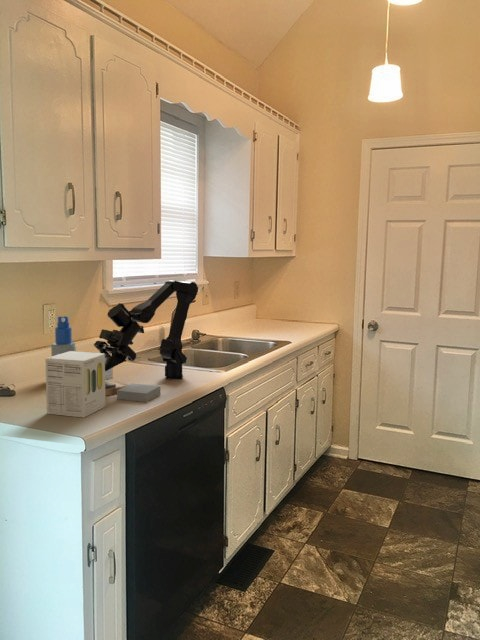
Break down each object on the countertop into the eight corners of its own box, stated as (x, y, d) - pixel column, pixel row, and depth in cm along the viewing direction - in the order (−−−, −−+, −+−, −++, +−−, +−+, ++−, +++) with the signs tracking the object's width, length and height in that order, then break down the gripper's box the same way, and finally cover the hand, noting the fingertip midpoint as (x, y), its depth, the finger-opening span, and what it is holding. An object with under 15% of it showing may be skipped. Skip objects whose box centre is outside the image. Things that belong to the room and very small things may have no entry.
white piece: (106, 377, 192) (105, 352, 191) (112, 378, 190) (112, 354, 188) (96, 378, 189) (96, 354, 188) (103, 380, 187) (102, 355, 186)
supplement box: (84, 418, 160) (82, 360, 158) (45, 414, 164) (44, 357, 161) (106, 406, 173) (105, 353, 171) (70, 402, 176) (69, 350, 174)
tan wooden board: (116, 386, 199) (116, 378, 198) (130, 390, 193) (130, 382, 193) (88, 392, 190) (88, 384, 189) (101, 396, 184) (101, 388, 184)
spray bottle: (76, 382, 204) (75, 317, 201) (51, 383, 201) (49, 317, 198) (76, 377, 212) (75, 314, 209) (52, 378, 210) (51, 315, 207)
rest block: (132, 391, 192) (132, 383, 191) (160, 394, 189) (160, 385, 188) (116, 399, 181) (116, 390, 181) (146, 402, 178) (146, 393, 178)
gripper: (97, 318, 196) (71, 352, 189) (129, 323, 184) (102, 359, 177) (115, 337, 203) (91, 370, 196) (147, 343, 191) (122, 378, 184)
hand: (101, 369), depth 188 cm, fingers closed on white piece, 4 cm apart
